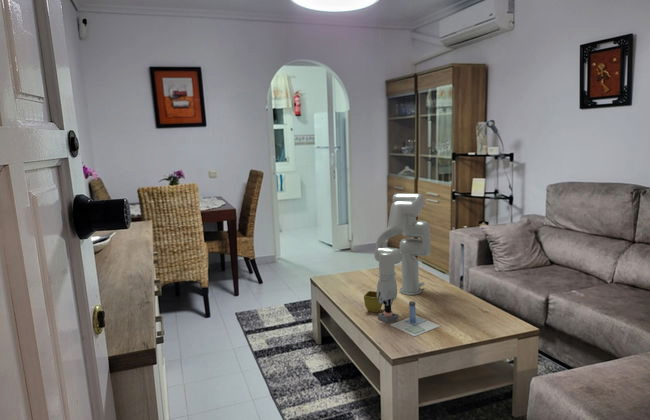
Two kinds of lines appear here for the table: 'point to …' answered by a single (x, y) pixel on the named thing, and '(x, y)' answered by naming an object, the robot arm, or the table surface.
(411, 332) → the sheet
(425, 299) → the table surface
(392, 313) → the button
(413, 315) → the cylinder
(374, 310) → the flower pot
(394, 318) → the button collar
